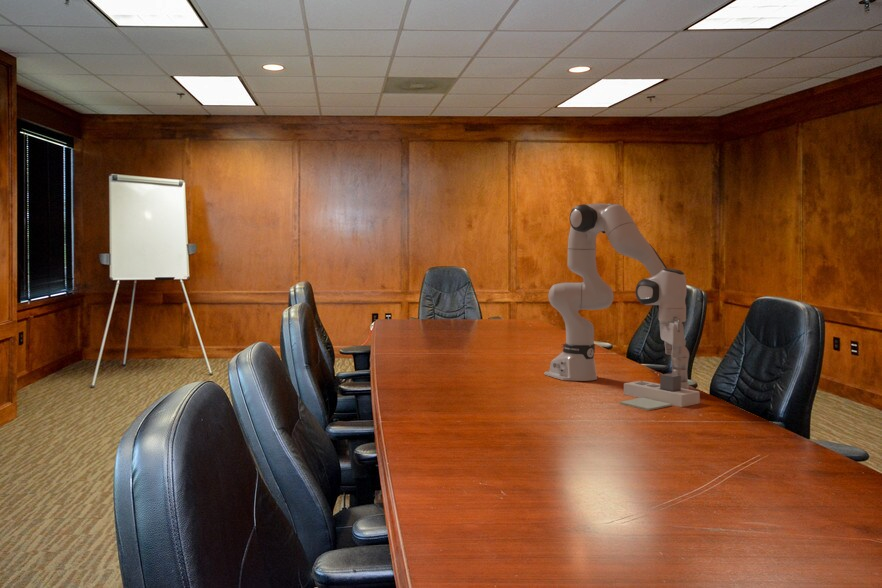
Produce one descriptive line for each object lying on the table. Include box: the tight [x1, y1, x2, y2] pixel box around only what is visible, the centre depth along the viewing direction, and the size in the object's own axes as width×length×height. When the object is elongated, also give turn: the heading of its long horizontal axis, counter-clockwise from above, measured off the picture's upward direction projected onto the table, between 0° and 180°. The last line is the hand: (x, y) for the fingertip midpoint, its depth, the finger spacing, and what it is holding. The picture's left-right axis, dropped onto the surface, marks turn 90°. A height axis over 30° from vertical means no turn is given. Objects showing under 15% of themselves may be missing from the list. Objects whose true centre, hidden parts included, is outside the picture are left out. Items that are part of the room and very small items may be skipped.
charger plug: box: [659, 373, 681, 392], centre depth 228 cm, size 5×4×9 cm
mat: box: [619, 397, 673, 411], centre depth 222 cm, size 12×12×1 cm
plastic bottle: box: [670, 338, 690, 390], centre depth 239 cm, size 6×7×20 cm
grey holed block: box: [623, 380, 701, 408], centre depth 232 cm, size 24×10×4 cm, turn 35°
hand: (671, 356), depth 227 cm, fingers open, 8 cm apart
